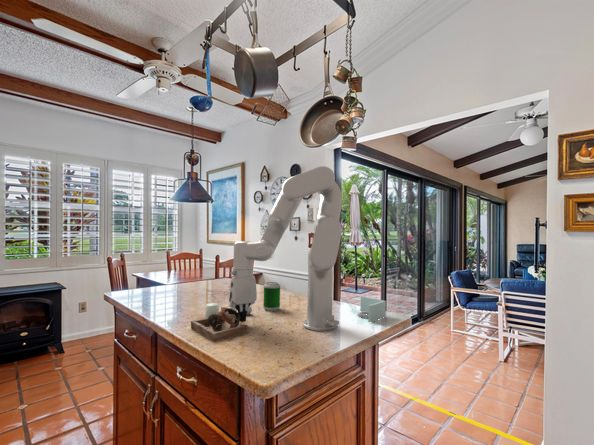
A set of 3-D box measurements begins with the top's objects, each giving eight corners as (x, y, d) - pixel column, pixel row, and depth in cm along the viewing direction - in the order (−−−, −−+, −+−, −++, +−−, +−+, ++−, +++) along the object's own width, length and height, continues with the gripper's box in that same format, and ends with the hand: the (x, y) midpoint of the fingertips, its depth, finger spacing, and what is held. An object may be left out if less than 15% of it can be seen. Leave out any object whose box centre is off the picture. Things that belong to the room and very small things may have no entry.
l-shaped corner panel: (361, 312, 139) (361, 296, 139) (385, 318, 130) (385, 301, 131) (345, 317, 130) (346, 300, 131) (370, 324, 122) (370, 305, 122)
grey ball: (253, 314, 131) (253, 306, 131) (246, 316, 128) (246, 307, 128) (248, 312, 133) (248, 304, 133) (241, 314, 131) (241, 305, 131)
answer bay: (247, 332, 109) (247, 325, 109) (213, 341, 100) (213, 333, 100) (223, 320, 121) (223, 314, 121) (190, 327, 112) (191, 320, 112)
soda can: (279, 311, 136) (279, 284, 136) (262, 311, 136) (262, 284, 136) (280, 307, 143) (280, 281, 143) (264, 307, 143) (264, 281, 143)
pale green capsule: (220, 320, 123) (220, 305, 123) (209, 322, 119) (209, 307, 119) (214, 317, 126) (214, 302, 126) (203, 319, 123) (203, 304, 123)
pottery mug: (226, 323, 119) (236, 306, 118) (236, 340, 113) (246, 322, 112) (198, 322, 111) (209, 303, 110) (208, 340, 104) (219, 321, 103)
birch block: (236, 316, 127) (236, 306, 128) (228, 319, 124) (228, 308, 124) (228, 315, 130) (228, 304, 130) (220, 317, 126) (220, 306, 126)
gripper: (231, 276, 110) (229, 327, 110) (264, 272, 120) (263, 319, 120) (220, 273, 115) (219, 322, 115) (253, 270, 125) (252, 315, 125)
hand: (241, 320), depth 117 cm, fingers closed
